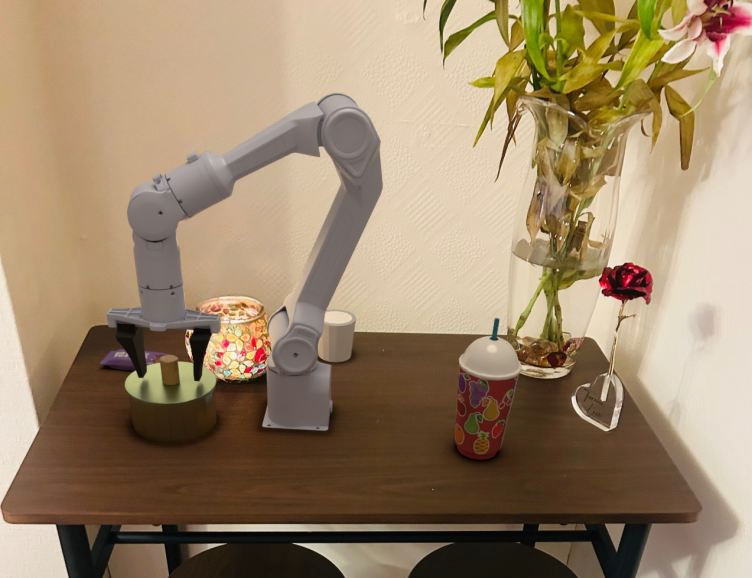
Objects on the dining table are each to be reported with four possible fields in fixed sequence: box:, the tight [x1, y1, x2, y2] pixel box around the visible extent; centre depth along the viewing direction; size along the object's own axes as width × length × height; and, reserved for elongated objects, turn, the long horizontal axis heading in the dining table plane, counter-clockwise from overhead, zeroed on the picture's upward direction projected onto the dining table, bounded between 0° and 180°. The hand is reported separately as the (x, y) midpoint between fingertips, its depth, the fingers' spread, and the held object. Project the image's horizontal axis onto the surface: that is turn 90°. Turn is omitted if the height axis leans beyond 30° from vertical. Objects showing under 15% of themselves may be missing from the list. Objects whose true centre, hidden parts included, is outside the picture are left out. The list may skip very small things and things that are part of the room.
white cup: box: [318, 309, 357, 363], centre depth 131 cm, size 7×7×7 cm
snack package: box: [99, 348, 180, 372], centre depth 125 cm, size 12×2×5 cm
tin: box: [128, 388, 218, 443], centre depth 110 cm, size 12×12×6 cm
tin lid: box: [124, 354, 218, 406], centre depth 107 cm, size 12×12×5 cm
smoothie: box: [453, 317, 523, 461], centre depth 105 cm, size 8×8×20 cm
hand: (170, 376), depth 107 cm, fingers open, 7 cm apart
